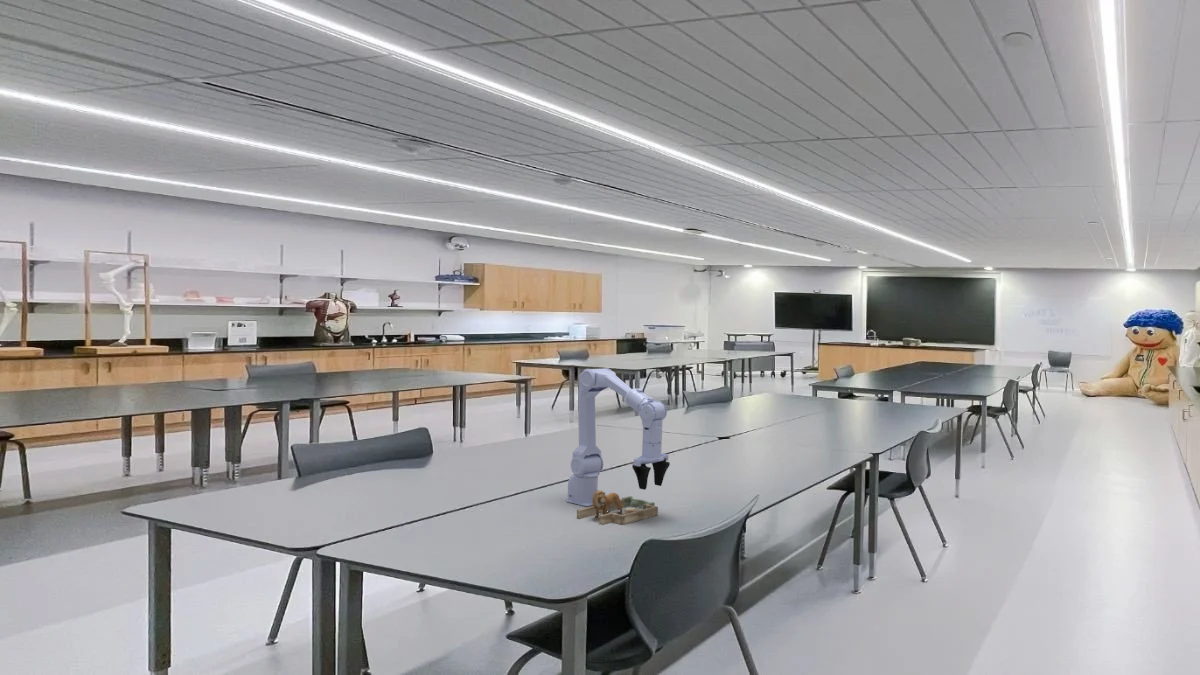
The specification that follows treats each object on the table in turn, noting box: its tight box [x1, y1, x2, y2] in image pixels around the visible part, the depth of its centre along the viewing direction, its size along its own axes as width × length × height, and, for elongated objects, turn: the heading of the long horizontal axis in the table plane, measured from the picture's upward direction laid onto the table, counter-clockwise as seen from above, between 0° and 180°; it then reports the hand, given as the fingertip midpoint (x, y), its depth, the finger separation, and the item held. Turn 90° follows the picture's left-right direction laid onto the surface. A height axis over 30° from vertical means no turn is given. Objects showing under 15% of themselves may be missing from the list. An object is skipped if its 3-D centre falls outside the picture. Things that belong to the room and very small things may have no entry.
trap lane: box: [576, 495, 659, 526], centre depth 239 cm, size 14×25×3 cm, turn 138°
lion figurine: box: [592, 489, 623, 519], centre depth 238 cm, size 15×5×9 cm, turn 151°
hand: (650, 487), depth 235 cm, fingers open, 7 cm apart
